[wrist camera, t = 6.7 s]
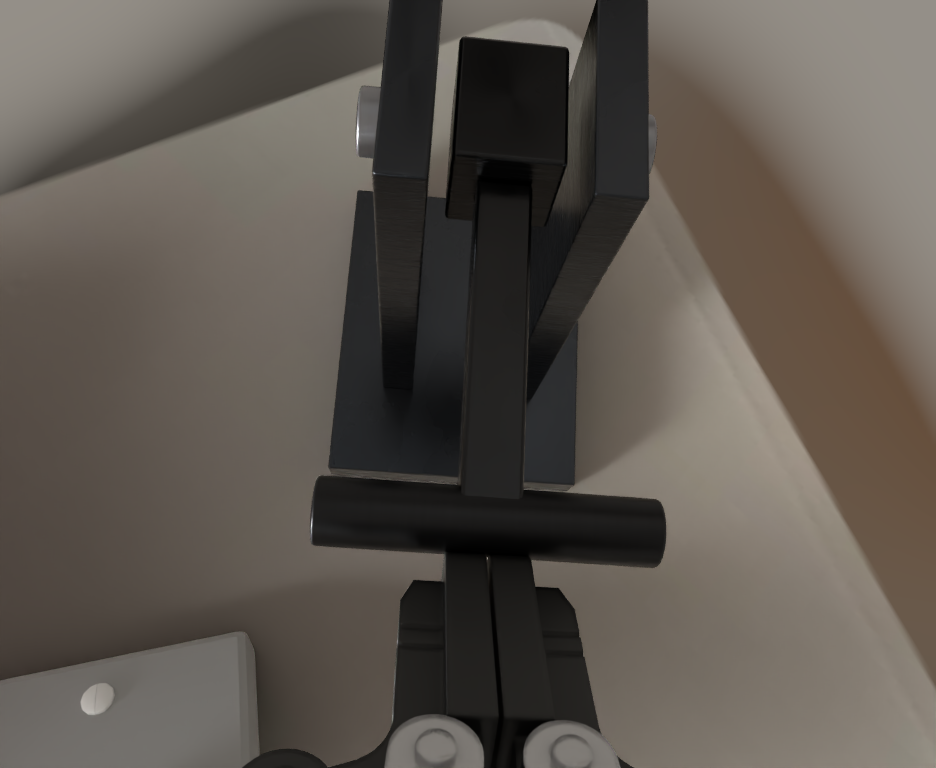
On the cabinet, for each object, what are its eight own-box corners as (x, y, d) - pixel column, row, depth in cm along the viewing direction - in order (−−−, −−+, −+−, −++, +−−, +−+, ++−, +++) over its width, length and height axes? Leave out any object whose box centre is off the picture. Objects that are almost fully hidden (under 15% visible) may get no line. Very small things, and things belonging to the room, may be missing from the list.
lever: (638, 575, 16) (680, 558, 14) (316, 555, 15) (303, 533, 13) (631, 128, 19) (663, 55, 17) (367, 102, 19) (363, 23, 17)
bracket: (567, 491, 29) (736, 353, 14) (330, 474, 28) (266, 313, 14) (573, 225, 31) (719, -107, 17) (359, 206, 31) (328, -153, 17)
